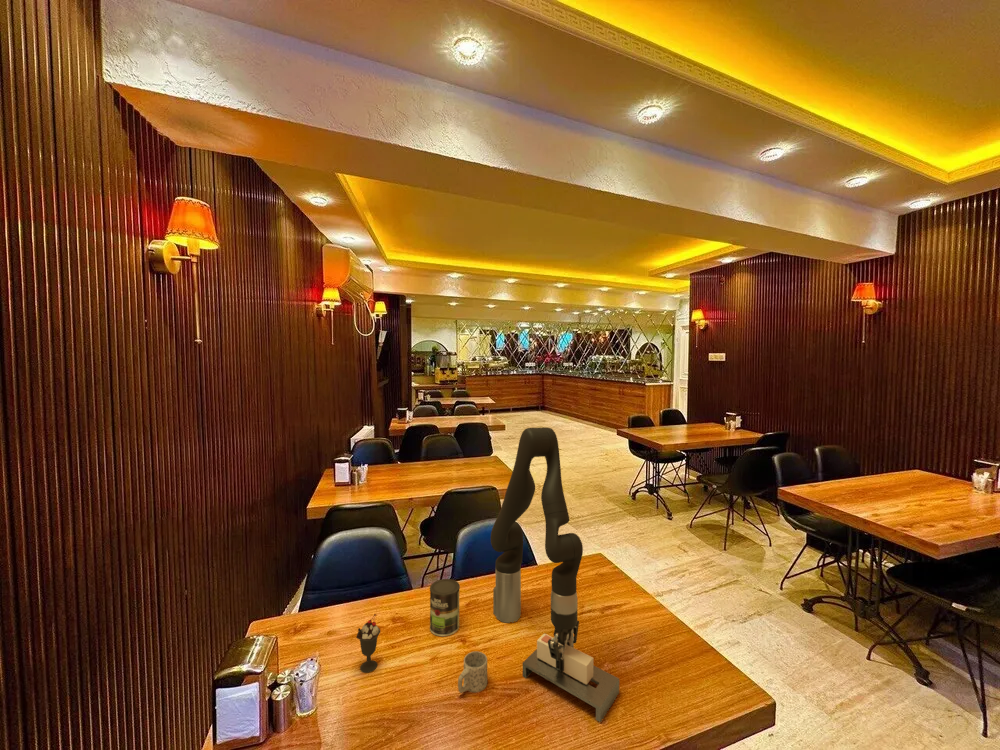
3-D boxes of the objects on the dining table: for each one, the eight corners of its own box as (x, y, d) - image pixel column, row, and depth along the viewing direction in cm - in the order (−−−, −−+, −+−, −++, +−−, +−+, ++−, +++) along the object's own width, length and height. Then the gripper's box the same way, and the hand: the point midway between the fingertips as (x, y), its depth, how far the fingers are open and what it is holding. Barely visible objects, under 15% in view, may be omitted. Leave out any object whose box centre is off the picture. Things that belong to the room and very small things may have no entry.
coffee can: (450, 640, 128) (450, 597, 128) (423, 632, 132) (423, 590, 132) (465, 621, 138) (464, 581, 138) (439, 615, 142) (439, 576, 142)
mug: (474, 670, 115) (474, 648, 115) (492, 681, 111) (492, 658, 111) (450, 691, 107) (450, 667, 107) (467, 704, 103) (467, 679, 103)
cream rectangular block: (536, 667, 114) (536, 638, 114) (544, 659, 117) (544, 632, 117) (586, 696, 104) (586, 664, 104) (593, 686, 107) (593, 656, 107)
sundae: (385, 661, 119) (385, 612, 119) (370, 677, 112) (370, 625, 112) (367, 656, 121) (366, 608, 121) (352, 671, 114) (352, 620, 114)
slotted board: (522, 676, 113) (522, 662, 113) (545, 653, 122) (545, 640, 122) (600, 723, 97) (600, 707, 97) (619, 693, 107) (619, 678, 107)
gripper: (565, 590, 119) (565, 646, 119) (539, 612, 108) (539, 674, 108) (587, 599, 114) (587, 657, 114) (562, 622, 103) (562, 687, 103)
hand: (564, 665), depth 111 cm, fingers closed on cream rectangular block, 4 cm apart
